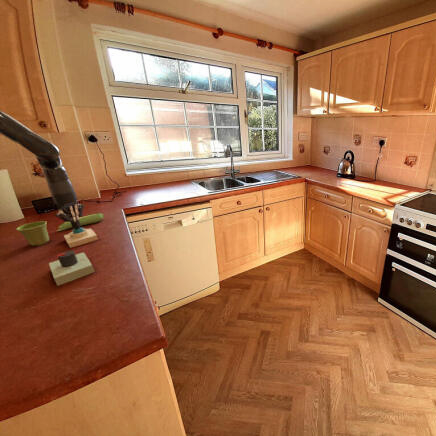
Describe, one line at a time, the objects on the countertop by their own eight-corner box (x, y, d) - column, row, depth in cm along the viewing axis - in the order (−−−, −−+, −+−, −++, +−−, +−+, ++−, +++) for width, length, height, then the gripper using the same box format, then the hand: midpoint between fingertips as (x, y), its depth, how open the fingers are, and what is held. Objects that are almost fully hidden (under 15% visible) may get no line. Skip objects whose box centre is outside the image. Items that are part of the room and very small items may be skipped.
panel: (51, 270, 88) (48, 262, 87) (86, 258, 95) (83, 251, 94) (57, 285, 79) (53, 277, 78) (94, 272, 86) (91, 264, 85)
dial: (76, 259, 89) (72, 248, 87) (78, 263, 86) (74, 252, 84) (61, 264, 86) (56, 253, 84) (62, 268, 83) (57, 258, 81)
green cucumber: (106, 221, 131) (103, 213, 130) (56, 233, 118) (53, 224, 117) (104, 218, 135) (101, 211, 133) (56, 230, 122) (52, 221, 120)
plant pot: (29, 250, 103) (19, 231, 100) (22, 245, 107) (13, 227, 104) (57, 241, 110) (49, 223, 107) (50, 236, 115) (42, 219, 112)
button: (73, 232, 109) (71, 229, 109) (83, 230, 112) (81, 226, 111) (74, 235, 107) (73, 231, 106) (84, 232, 110) (83, 228, 109)
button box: (65, 239, 111) (62, 231, 110) (92, 232, 118) (89, 224, 116) (70, 247, 104) (66, 239, 102) (98, 239, 111) (95, 231, 109)
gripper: (66, 187, 108) (80, 222, 115) (38, 196, 96) (56, 235, 103) (83, 186, 108) (96, 222, 115) (57, 195, 96) (74, 234, 103)
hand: (77, 228), depth 109 cm, fingers closed
